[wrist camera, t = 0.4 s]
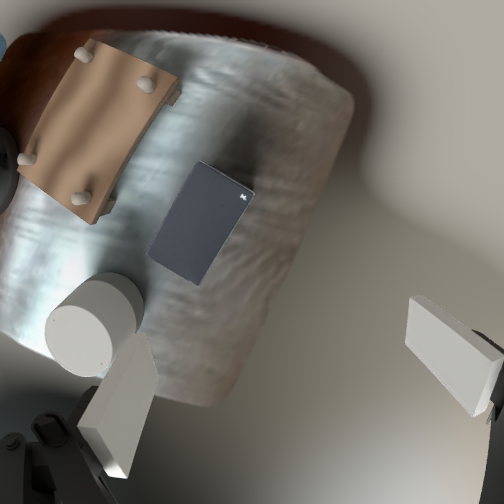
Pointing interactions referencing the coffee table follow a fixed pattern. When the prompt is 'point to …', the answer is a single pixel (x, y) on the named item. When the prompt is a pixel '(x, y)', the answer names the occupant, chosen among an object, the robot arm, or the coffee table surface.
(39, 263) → the coffee table surface
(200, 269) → the small box
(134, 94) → the pegged wooden board
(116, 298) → the smart speaker
